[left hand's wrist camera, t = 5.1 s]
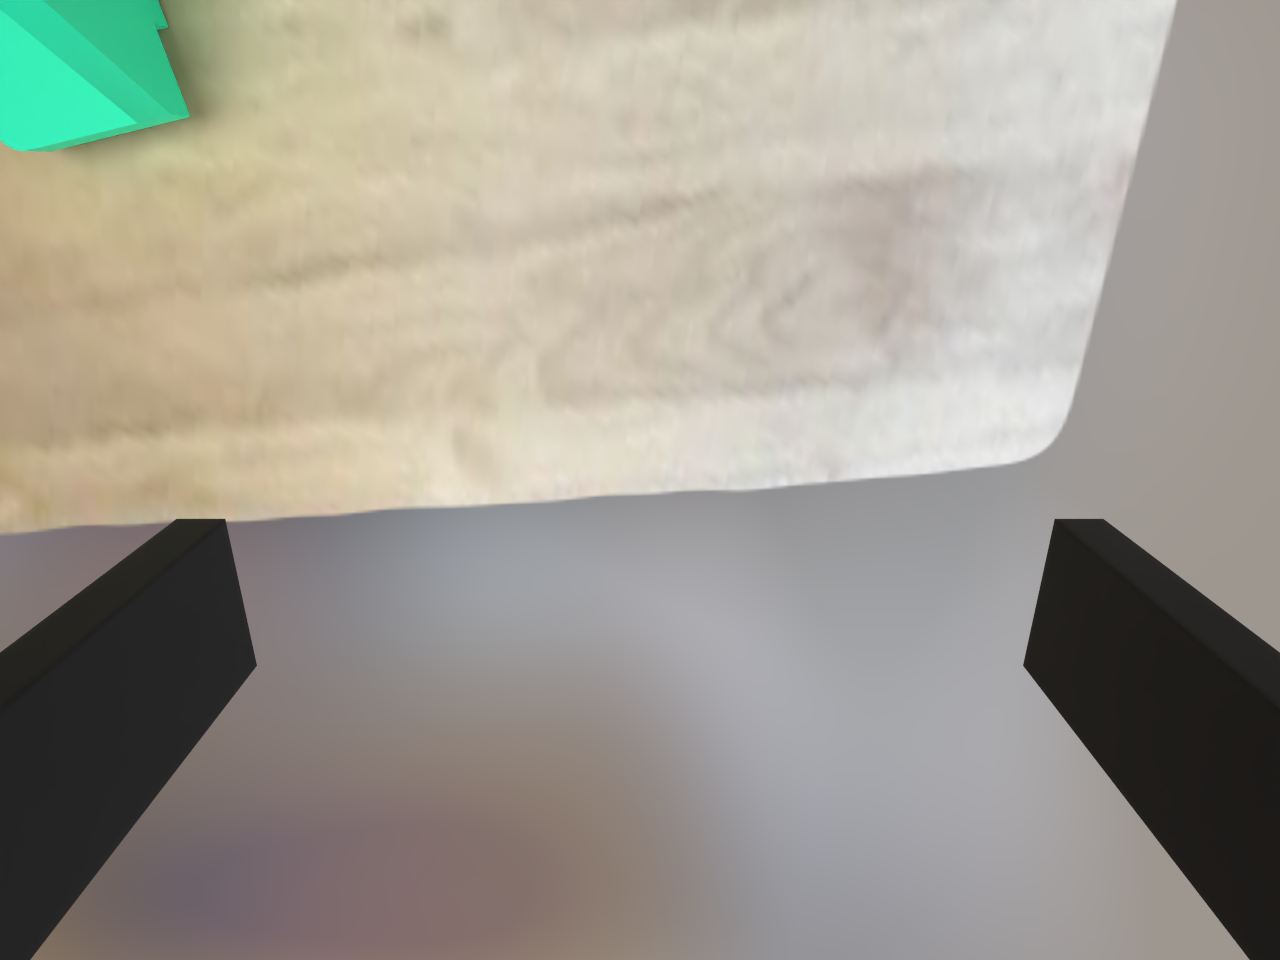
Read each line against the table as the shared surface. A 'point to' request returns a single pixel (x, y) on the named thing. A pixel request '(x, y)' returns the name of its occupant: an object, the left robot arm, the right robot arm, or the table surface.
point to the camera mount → (82, 72)
